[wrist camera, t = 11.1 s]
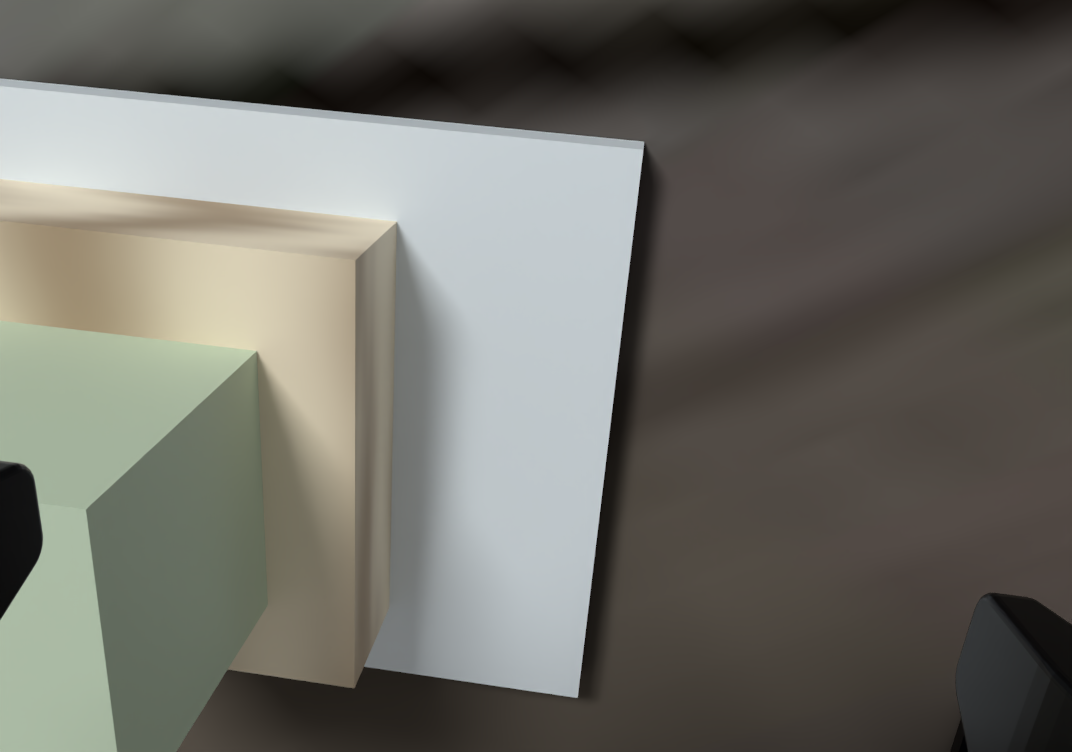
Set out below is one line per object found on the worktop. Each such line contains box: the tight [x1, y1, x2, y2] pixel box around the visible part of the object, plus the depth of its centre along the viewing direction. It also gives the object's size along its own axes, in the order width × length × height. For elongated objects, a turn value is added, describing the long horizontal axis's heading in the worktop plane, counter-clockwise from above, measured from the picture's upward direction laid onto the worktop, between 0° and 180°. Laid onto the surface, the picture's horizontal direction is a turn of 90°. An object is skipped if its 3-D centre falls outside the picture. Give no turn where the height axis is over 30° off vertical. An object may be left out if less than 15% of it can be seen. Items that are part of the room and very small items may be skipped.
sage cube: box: [0, 321, 268, 752], centre depth 17 cm, size 6×6×6 cm
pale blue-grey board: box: [0, 79, 644, 698], centre depth 23 cm, size 20×14×1 cm
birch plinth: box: [0, 179, 397, 688], centre depth 21 cm, size 10×10×3 cm
